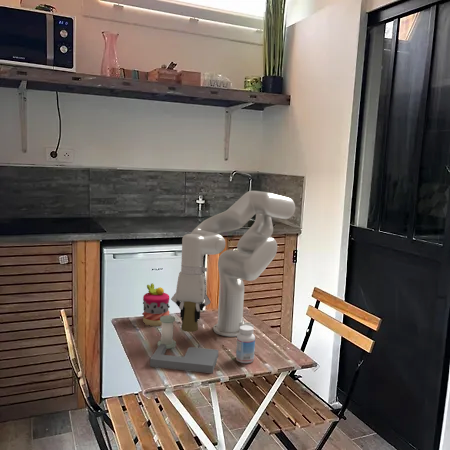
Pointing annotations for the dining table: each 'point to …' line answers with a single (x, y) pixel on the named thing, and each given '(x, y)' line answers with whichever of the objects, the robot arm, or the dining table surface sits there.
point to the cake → (155, 306)
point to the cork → (189, 317)
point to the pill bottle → (245, 344)
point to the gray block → (186, 359)
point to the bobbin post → (167, 332)
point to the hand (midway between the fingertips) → (190, 319)
